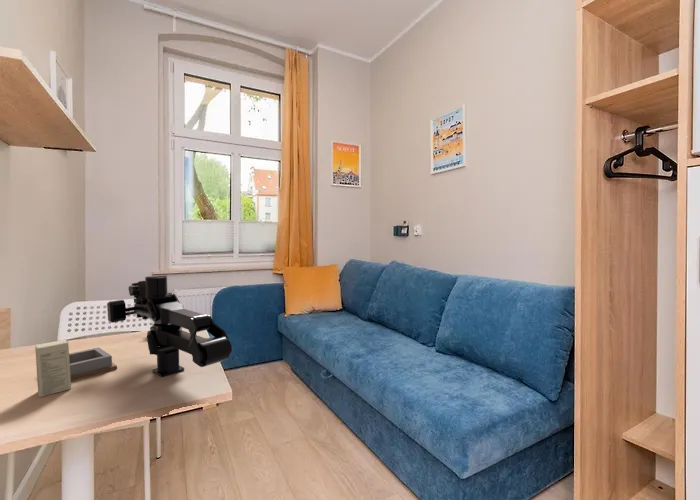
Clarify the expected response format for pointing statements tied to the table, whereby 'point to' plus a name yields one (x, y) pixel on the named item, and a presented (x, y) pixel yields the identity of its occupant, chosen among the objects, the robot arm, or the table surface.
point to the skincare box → (53, 367)
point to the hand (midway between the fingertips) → (132, 304)
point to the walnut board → (93, 372)
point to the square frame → (89, 361)
